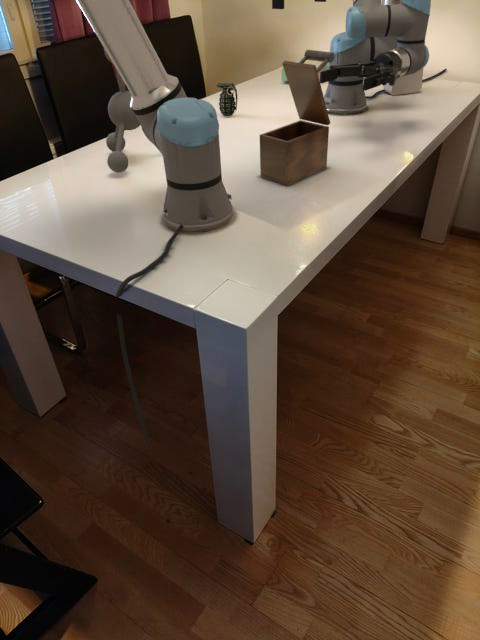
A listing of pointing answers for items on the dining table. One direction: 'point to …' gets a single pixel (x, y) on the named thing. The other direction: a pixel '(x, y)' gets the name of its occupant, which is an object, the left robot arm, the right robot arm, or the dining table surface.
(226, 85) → the grenade
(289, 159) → the chest
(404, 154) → the dining table surface
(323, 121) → the lid
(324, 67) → the decorative block
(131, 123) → the molecular model
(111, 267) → the dining table surface
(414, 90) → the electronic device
